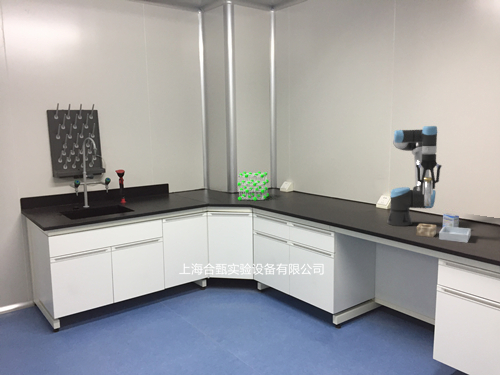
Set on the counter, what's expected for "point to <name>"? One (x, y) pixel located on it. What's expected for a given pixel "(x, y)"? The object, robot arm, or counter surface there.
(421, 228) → the holder block
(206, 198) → the counter surface
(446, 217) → the medicine box
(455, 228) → the tray
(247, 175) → the molecular structure model
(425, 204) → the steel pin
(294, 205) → the counter surface
